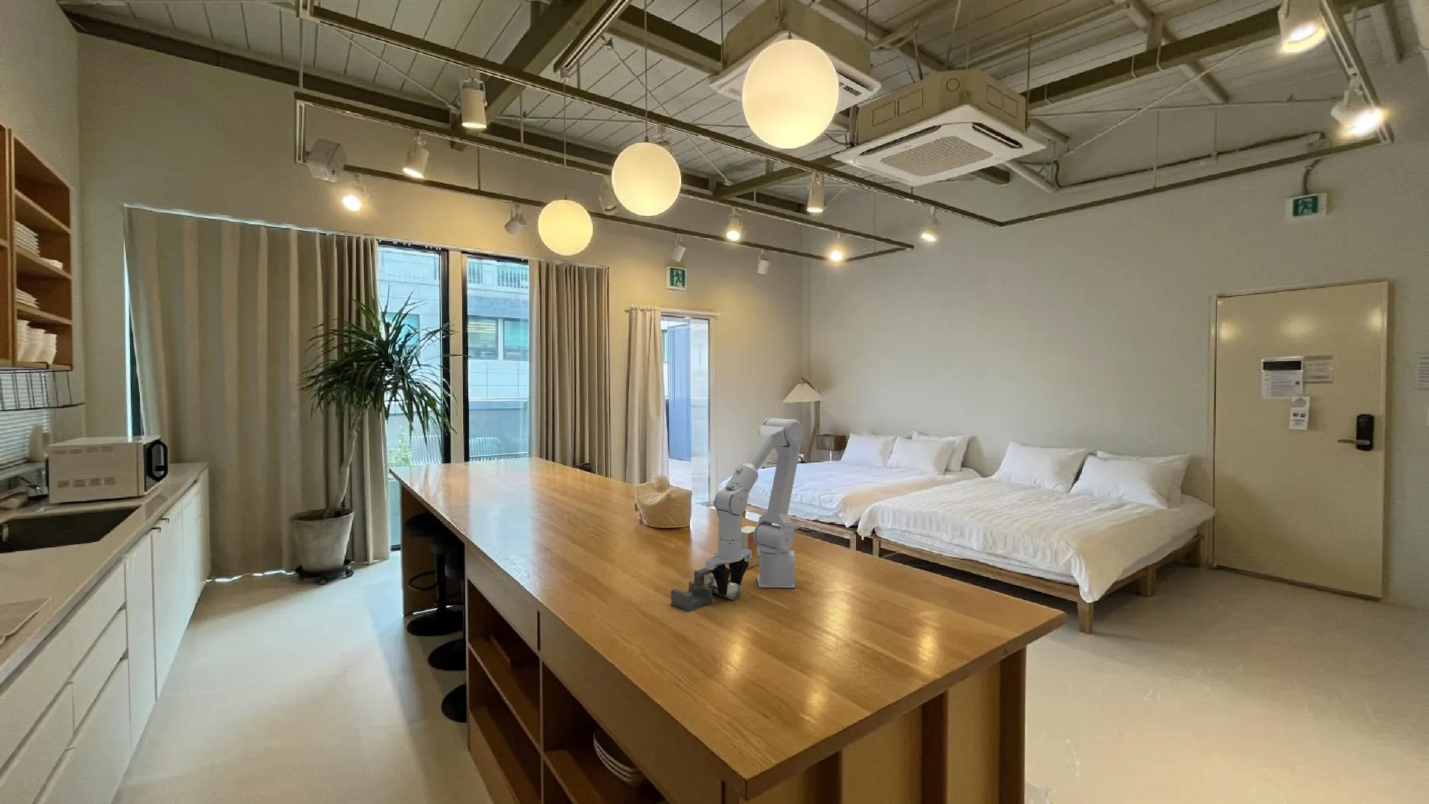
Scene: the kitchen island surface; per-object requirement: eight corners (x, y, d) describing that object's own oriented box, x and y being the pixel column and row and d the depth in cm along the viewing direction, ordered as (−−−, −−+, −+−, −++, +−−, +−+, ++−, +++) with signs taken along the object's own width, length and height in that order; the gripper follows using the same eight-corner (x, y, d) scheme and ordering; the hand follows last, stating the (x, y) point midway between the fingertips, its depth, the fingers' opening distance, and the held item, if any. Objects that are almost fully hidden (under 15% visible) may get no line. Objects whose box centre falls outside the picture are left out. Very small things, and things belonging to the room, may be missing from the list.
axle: (696, 589, 153) (696, 574, 153) (707, 585, 156) (707, 570, 156) (729, 602, 144) (729, 586, 144) (740, 597, 147) (740, 581, 147)
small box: (747, 569, 169) (748, 533, 169) (731, 566, 173) (732, 530, 173) (762, 563, 176) (763, 527, 176) (746, 559, 179) (747, 525, 179)
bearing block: (688, 591, 152) (689, 569, 151) (722, 580, 160) (722, 559, 160) (705, 597, 147) (705, 575, 147) (738, 585, 156) (738, 564, 156)
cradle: (671, 604, 142) (671, 589, 142) (695, 596, 148) (695, 582, 148) (687, 611, 138) (688, 596, 138) (711, 602, 144) (712, 588, 144)
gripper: (738, 529, 155) (737, 581, 155) (697, 539, 145) (696, 594, 145) (758, 535, 150) (757, 588, 150) (717, 545, 140) (716, 602, 140)
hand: (729, 592), depth 147 cm, fingers closed on axle, 4 cm apart
